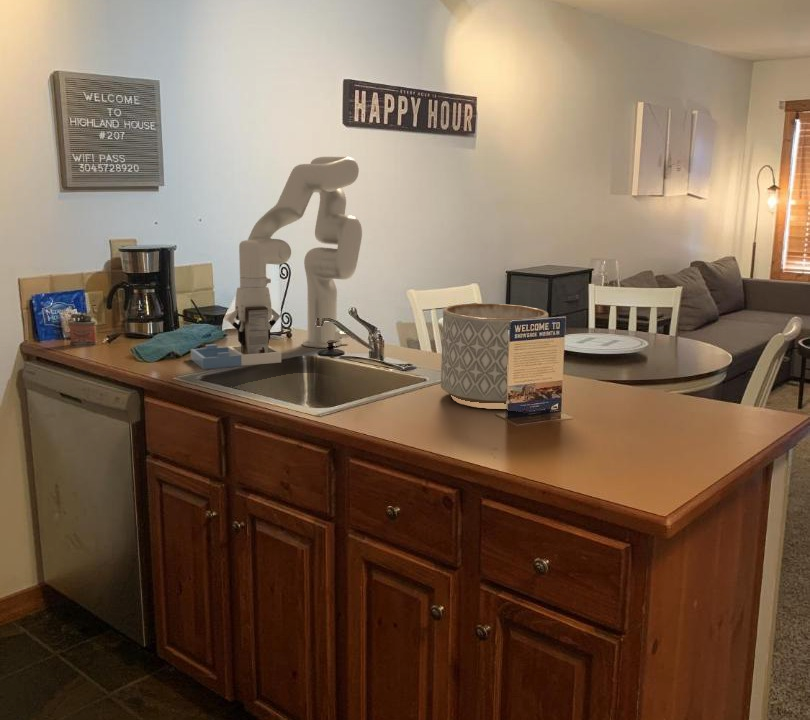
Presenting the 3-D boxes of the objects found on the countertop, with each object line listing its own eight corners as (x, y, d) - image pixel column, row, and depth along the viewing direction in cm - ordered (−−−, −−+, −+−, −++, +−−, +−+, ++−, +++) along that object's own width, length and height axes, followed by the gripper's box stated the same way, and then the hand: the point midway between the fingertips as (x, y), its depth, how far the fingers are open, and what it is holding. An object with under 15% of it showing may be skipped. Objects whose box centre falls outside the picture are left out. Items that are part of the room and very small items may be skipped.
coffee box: (240, 356, 239) (238, 303, 236) (261, 355, 242) (260, 302, 239) (247, 363, 231) (246, 308, 228) (269, 361, 234) (268, 307, 231)
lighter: (98, 344, 253) (96, 312, 251) (94, 346, 250) (93, 314, 248) (72, 343, 253) (70, 312, 250) (68, 345, 249) (66, 314, 247)
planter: (468, 417, 182) (472, 321, 177) (424, 390, 205) (426, 305, 200) (563, 408, 191) (569, 317, 187) (510, 383, 215) (515, 302, 210)
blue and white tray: (265, 353, 245) (265, 340, 245) (281, 362, 233) (281, 349, 233) (190, 359, 235) (190, 345, 234) (203, 368, 223) (202, 355, 222)
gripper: (277, 280, 239) (277, 338, 243) (220, 282, 231) (222, 343, 235) (285, 283, 233) (286, 343, 237) (227, 285, 225) (229, 347, 228)
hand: (254, 342), depth 236 cm, fingers closed on coffee box, 6 cm apart
